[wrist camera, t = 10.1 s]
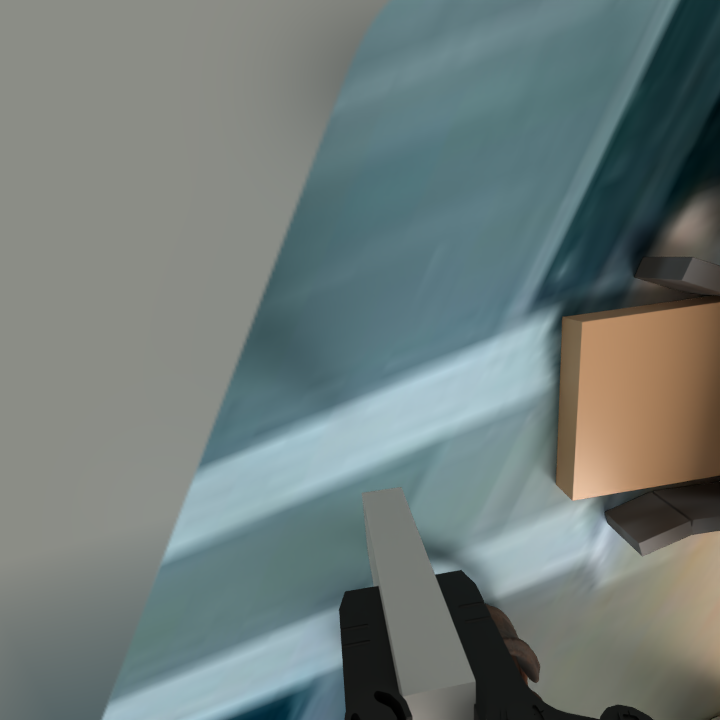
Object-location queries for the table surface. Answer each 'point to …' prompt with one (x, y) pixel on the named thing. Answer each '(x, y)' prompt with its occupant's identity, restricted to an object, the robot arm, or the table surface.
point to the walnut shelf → (684, 504)
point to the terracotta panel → (639, 397)
